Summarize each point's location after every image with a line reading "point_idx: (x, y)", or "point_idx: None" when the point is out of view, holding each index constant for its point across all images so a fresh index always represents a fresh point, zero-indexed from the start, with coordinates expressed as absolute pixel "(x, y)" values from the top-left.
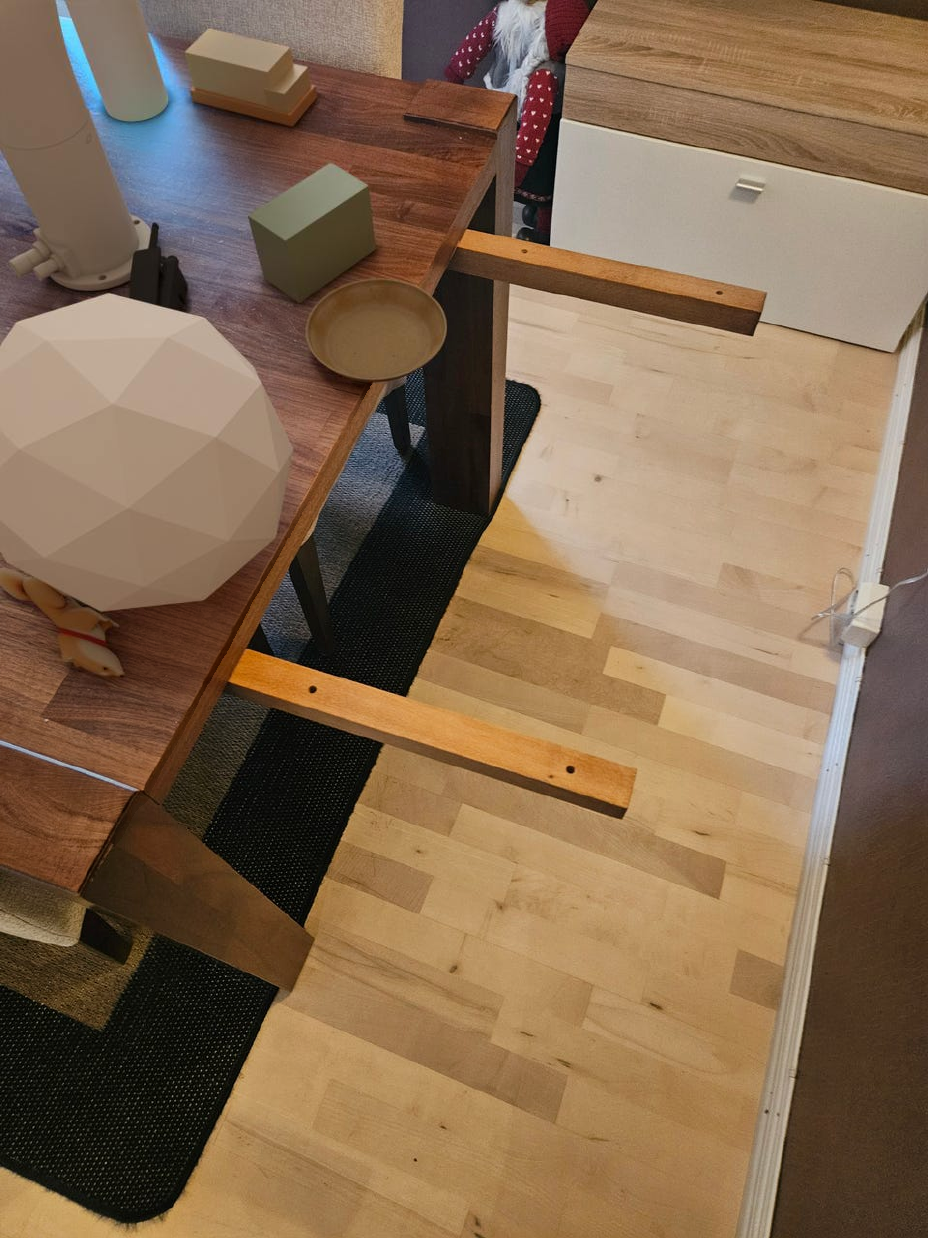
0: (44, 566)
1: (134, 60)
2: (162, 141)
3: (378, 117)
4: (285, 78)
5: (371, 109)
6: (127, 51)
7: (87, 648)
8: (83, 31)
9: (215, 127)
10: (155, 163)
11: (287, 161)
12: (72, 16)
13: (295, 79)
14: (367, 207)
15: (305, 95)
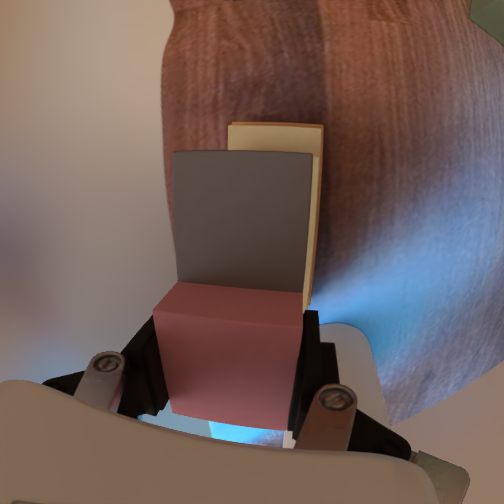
0: None
1: (367, 375)
2: (402, 293)
3: (250, 24)
4: (277, 146)
5: (235, 39)
6: (373, 387)
7: None
8: None
9: (359, 240)
10: (442, 280)
11: (399, 104)
12: None
13: (273, 128)
14: None
15: (264, 124)
